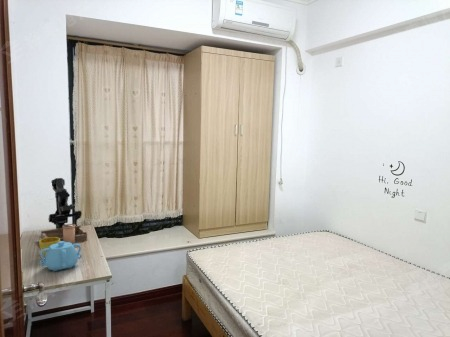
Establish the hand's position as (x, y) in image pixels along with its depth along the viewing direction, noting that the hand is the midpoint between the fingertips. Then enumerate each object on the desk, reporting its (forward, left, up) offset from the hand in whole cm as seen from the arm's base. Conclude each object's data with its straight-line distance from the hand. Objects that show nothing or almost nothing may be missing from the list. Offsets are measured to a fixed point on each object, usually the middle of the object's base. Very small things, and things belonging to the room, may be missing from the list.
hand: (67, 227), depth 197 cm
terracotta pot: (+3, 0, -10) cm, 11 cm away
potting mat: (+4, 0, -11) cm, 12 cm away
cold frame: (-10, 0, -11) cm, 15 cm away
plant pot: (+16, -13, -11) cm, 23 cm away
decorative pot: (+35, -11, -11) cm, 38 cm away
